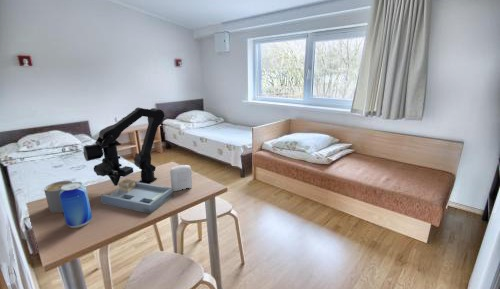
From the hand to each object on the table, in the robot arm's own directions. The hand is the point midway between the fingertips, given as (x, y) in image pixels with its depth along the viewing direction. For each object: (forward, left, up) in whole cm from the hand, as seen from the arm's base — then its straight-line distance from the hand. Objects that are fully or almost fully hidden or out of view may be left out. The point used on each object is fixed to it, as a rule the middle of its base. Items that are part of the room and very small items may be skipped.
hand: (116, 185), depth 123 cm
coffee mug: (+20, -9, -3) cm, 22 cm away
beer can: (+26, +7, -3) cm, 27 cm away
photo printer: (-12, +29, -3) cm, 32 cm away
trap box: (+4, +16, -3) cm, 17 cm away
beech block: (0, +7, -1) cm, 7 cm away
